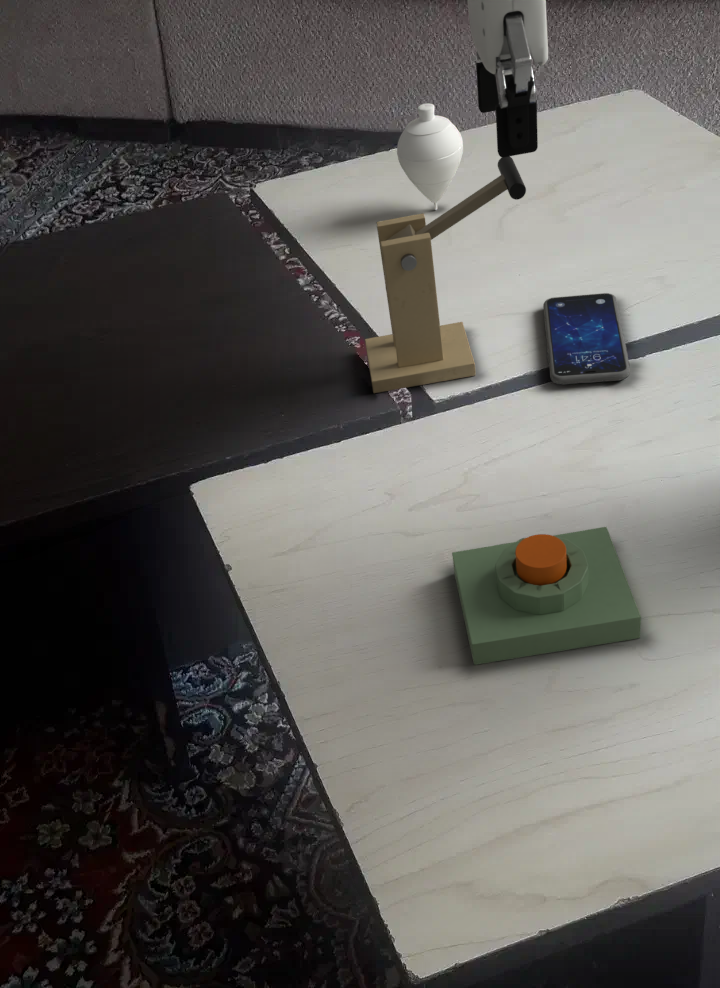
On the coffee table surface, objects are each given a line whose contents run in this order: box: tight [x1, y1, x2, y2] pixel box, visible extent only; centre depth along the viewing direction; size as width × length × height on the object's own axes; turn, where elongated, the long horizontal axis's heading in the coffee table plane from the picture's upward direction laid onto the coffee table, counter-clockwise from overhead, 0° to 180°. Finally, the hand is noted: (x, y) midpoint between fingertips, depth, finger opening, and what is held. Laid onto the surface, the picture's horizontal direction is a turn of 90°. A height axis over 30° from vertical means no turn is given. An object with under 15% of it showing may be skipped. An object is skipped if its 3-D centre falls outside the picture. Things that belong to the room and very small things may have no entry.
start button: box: [515, 533, 567, 585], centre depth 77 cm, size 4×4×2 cm
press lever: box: [387, 156, 527, 241], centre depth 95 cm, size 13×6×2 cm, turn 94°
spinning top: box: [396, 102, 464, 211], centre depth 124 cm, size 8×8×12 cm
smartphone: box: [542, 292, 631, 385], centre depth 103 cm, size 7×1×15 cm
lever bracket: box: [364, 212, 477, 394], centre depth 100 cm, size 10×8×14 cm
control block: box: [451, 526, 642, 666], centre depth 78 cm, size 12×10×4 cm
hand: (507, 130), depth 90 cm, fingers open, 9 cm apart
